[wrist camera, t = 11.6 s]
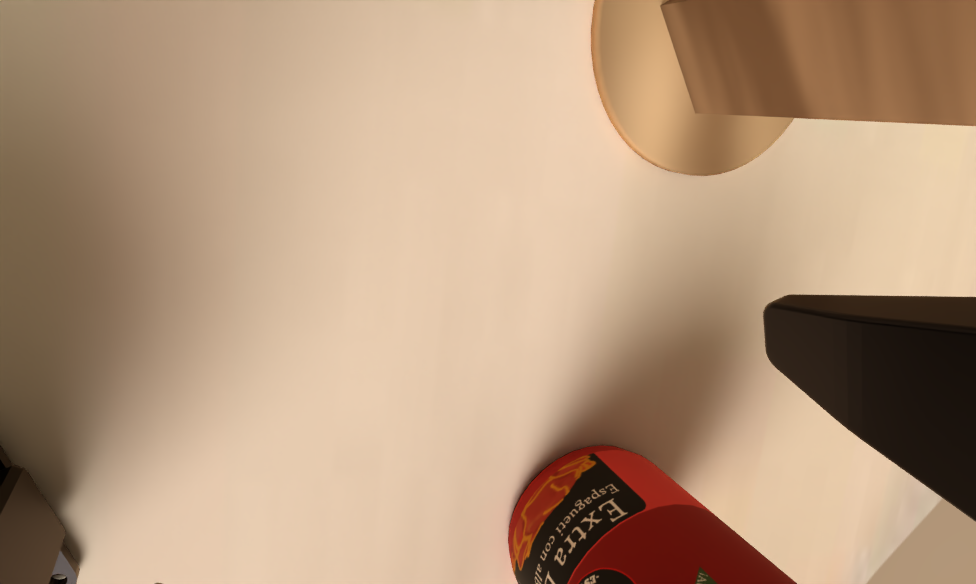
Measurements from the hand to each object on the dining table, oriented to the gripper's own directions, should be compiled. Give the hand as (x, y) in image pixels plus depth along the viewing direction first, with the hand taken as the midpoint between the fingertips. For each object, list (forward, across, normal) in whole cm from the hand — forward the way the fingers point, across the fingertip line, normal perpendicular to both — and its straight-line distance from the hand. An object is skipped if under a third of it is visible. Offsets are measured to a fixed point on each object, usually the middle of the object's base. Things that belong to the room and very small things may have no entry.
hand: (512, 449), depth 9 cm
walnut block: (+12, -15, -3) cm, 20 cm away
